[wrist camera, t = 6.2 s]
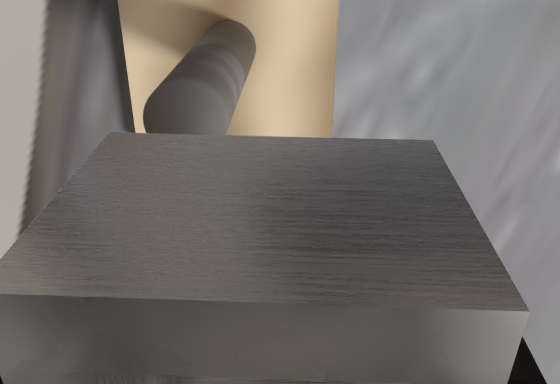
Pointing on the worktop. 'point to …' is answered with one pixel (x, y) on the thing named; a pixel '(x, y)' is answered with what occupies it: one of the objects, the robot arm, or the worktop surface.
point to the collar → (258, 269)
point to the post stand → (231, 66)
